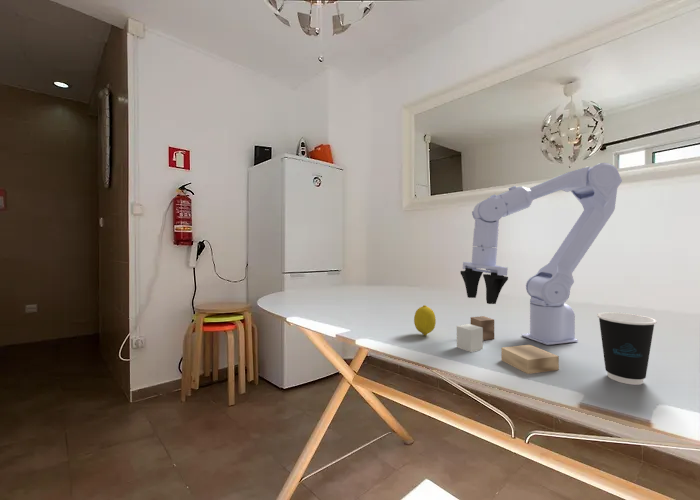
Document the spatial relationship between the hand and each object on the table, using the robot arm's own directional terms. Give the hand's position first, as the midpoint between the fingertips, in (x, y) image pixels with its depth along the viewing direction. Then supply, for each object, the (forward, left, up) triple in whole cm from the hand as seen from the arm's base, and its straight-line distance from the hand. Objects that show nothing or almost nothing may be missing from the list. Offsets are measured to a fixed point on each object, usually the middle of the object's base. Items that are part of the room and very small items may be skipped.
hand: (480, 300), depth 81 cm
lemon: (+12, -6, -10) cm, 17 cm away
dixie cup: (-9, +28, -10) cm, 31 cm away
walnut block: (-1, 0, -10) cm, 10 cm away
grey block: (+7, +6, -10) cm, 14 cm away
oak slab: (+2, +18, -10) cm, 21 cm away
